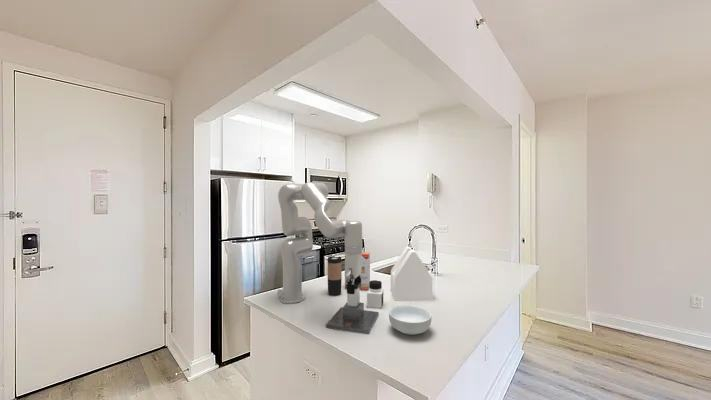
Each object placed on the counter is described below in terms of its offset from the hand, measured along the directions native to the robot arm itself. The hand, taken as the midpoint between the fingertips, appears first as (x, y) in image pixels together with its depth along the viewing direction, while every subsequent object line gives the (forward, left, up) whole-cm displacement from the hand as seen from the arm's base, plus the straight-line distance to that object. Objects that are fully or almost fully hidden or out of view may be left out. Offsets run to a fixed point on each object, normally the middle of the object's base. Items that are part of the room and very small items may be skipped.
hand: (354, 290), depth 120 cm
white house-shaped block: (+20, +39, -14) cm, 46 cm away
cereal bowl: (+24, -1, -14) cm, 27 cm away
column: (0, 0, -12) cm, 12 cm away
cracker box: (-11, +41, -14) cm, 45 cm away
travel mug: (-20, +29, -14) cm, 38 cm away
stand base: (0, 0, -14) cm, 14 cm away
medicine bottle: (+5, +20, -14) cm, 25 cm away
